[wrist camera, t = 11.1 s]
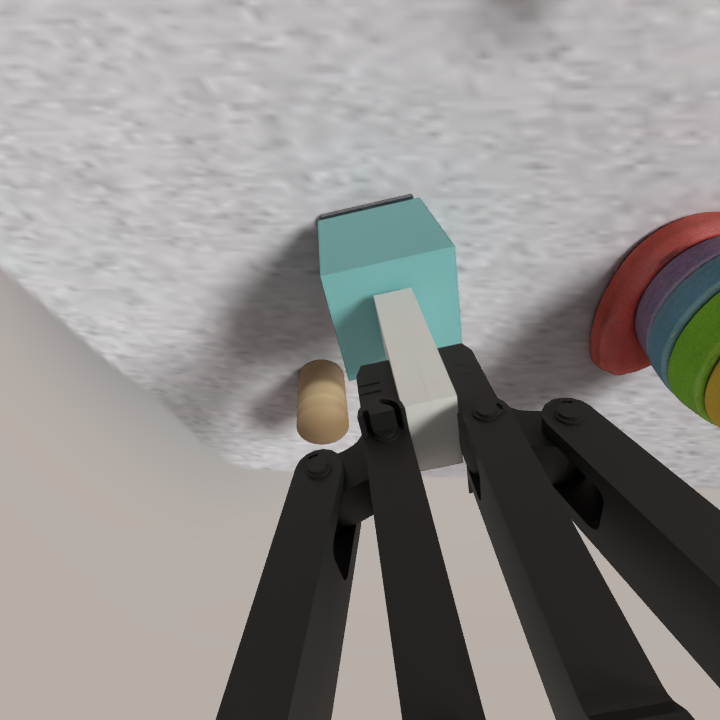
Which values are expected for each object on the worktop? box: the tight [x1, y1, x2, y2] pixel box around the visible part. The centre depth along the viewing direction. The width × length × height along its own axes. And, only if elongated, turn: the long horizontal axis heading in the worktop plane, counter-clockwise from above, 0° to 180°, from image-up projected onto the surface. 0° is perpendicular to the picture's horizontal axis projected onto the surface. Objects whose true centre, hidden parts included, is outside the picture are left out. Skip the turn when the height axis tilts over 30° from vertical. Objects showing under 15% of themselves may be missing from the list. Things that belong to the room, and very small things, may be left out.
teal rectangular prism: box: [318, 198, 462, 381], centre depth 21 cm, size 5×5×7 cm
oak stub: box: [297, 360, 349, 444], centre depth 27 cm, size 3×3×4 cm
